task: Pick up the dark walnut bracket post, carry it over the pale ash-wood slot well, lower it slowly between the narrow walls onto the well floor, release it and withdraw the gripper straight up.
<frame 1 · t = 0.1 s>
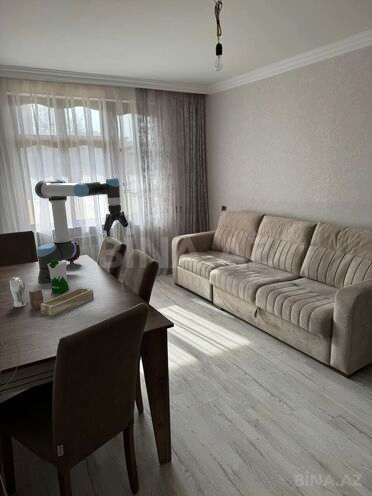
hand: (117, 239, 211), 28 cm above the table, fingers open, 13 cm apart
walnut post: (37, 308, 181), on the table
slot well: (68, 305, 184), on the table
milk carton: (60, 292, 205), on the table
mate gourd: (72, 266, 262), on the table
beer glass: (20, 305, 187), on the table
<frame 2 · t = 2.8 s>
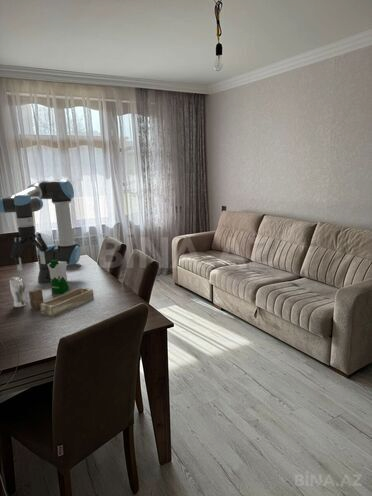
hand: (32, 267, 176), 23 cm above the table, fingers open, 13 cm apart
nothing on the table moved.
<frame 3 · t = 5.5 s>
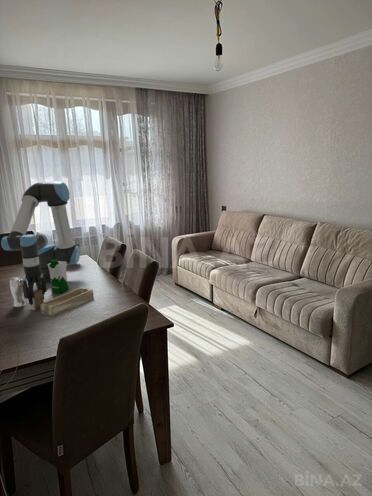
hand: (37, 307, 181), 0 cm above the table, fingers closed on walnut post, 4 cm apart
walnut post: (37, 308, 181), on the table, touching gripper
everything else where it was.
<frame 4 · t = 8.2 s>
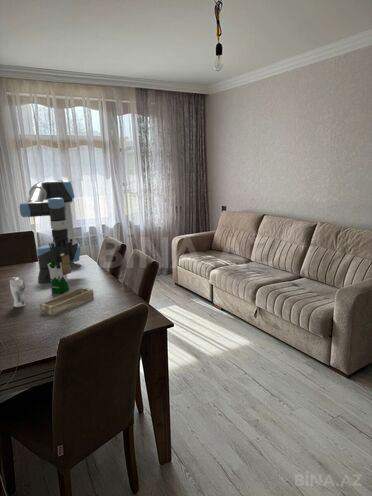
hand: (64, 272, 180), 18 cm above the table, fingers closed on walnut post, 4 cm apart
walnut post: (64, 273, 180), point 18 cm above the table, touching gripper
everything else where it was.
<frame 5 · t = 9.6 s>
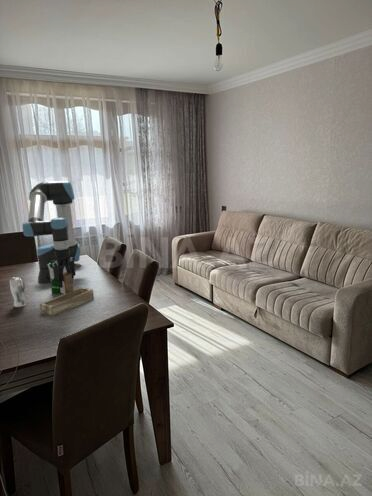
hand: (67, 291, 182), 8 cm above the table, fingers closed on walnut post, 4 cm apart
walnut post: (67, 291, 182), point 8 cm above the table, touching gripper
everything else where it was.
when the fingers open (3 cm above the table, at t = 10.9 s): walnut post drops 1 cm, resting on slot well.
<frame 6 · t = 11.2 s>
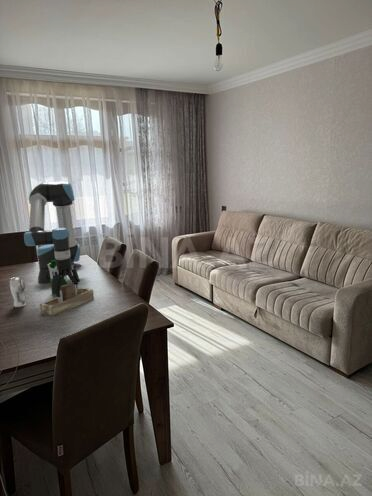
hand: (68, 299, 183), 4 cm above the table, fingers open, 9 cm apart
walnut post: (68, 303, 184), point 1 cm above the table, touching slot well
everything else where it was.
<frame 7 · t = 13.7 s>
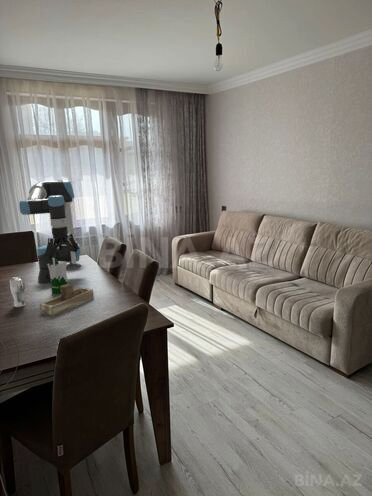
hand: (64, 266, 180), 21 cm above the table, fingers open, 13 cm apart
nothing on the table moved.
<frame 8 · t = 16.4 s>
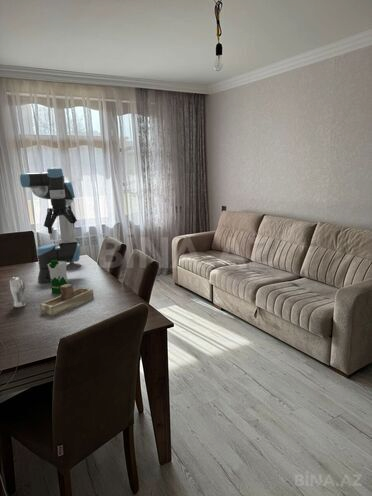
hand: (62, 237, 188), 35 cm above the table, fingers open, 13 cm apart
nothing on the table moved.
at the end: walnut post inside the target area on the slot well (0.0 cm from its centre), point 1.0 cm above the slot well's base; walnut post tilted 0°; the gripper is holding nothing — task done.
